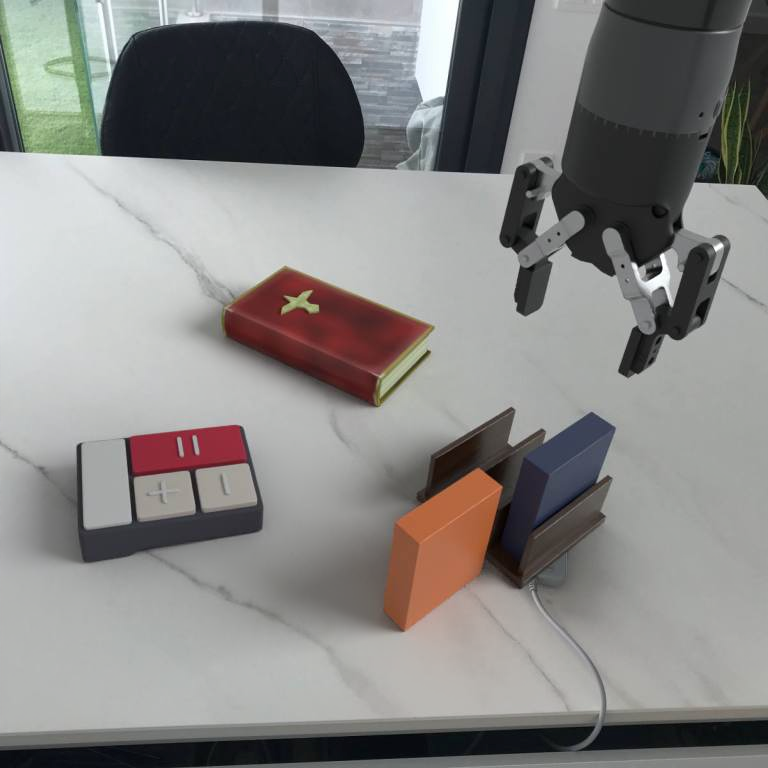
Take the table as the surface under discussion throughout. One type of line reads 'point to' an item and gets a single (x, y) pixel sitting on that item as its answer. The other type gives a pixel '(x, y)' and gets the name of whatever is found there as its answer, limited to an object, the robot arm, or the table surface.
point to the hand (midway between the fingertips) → (577, 340)
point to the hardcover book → (329, 333)
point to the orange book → (439, 547)
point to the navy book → (555, 478)
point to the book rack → (503, 465)
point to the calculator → (165, 490)
